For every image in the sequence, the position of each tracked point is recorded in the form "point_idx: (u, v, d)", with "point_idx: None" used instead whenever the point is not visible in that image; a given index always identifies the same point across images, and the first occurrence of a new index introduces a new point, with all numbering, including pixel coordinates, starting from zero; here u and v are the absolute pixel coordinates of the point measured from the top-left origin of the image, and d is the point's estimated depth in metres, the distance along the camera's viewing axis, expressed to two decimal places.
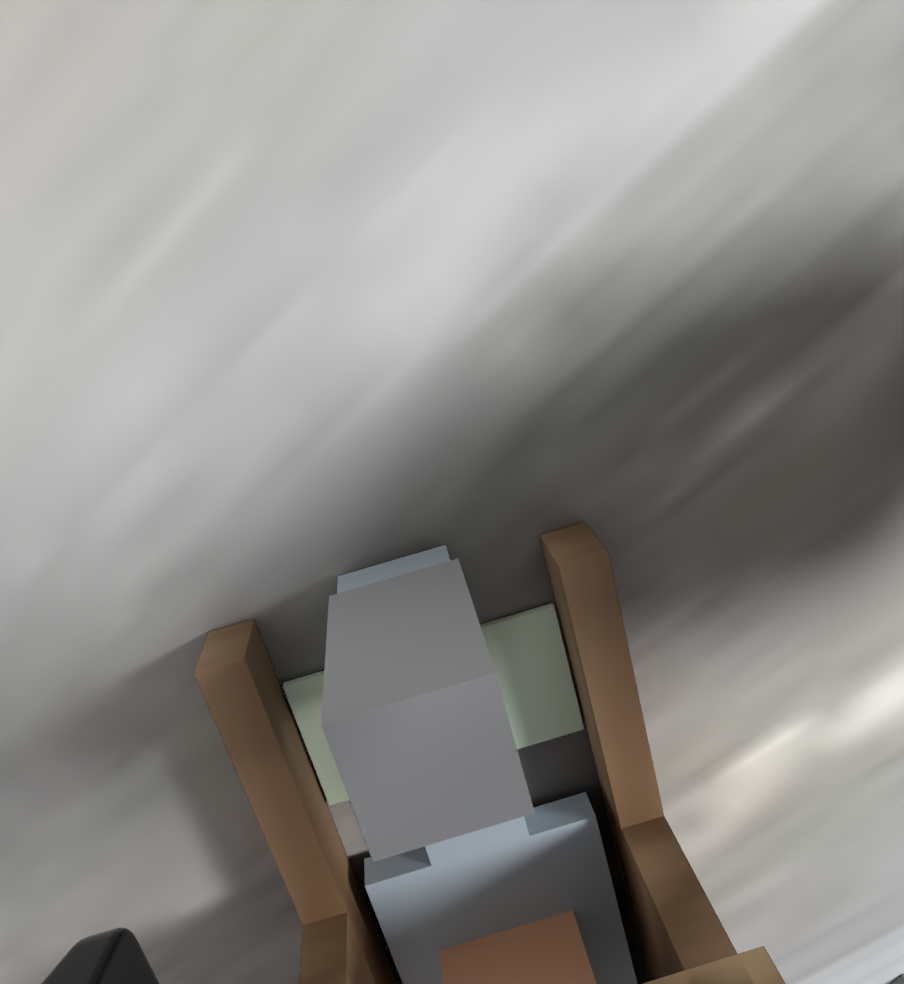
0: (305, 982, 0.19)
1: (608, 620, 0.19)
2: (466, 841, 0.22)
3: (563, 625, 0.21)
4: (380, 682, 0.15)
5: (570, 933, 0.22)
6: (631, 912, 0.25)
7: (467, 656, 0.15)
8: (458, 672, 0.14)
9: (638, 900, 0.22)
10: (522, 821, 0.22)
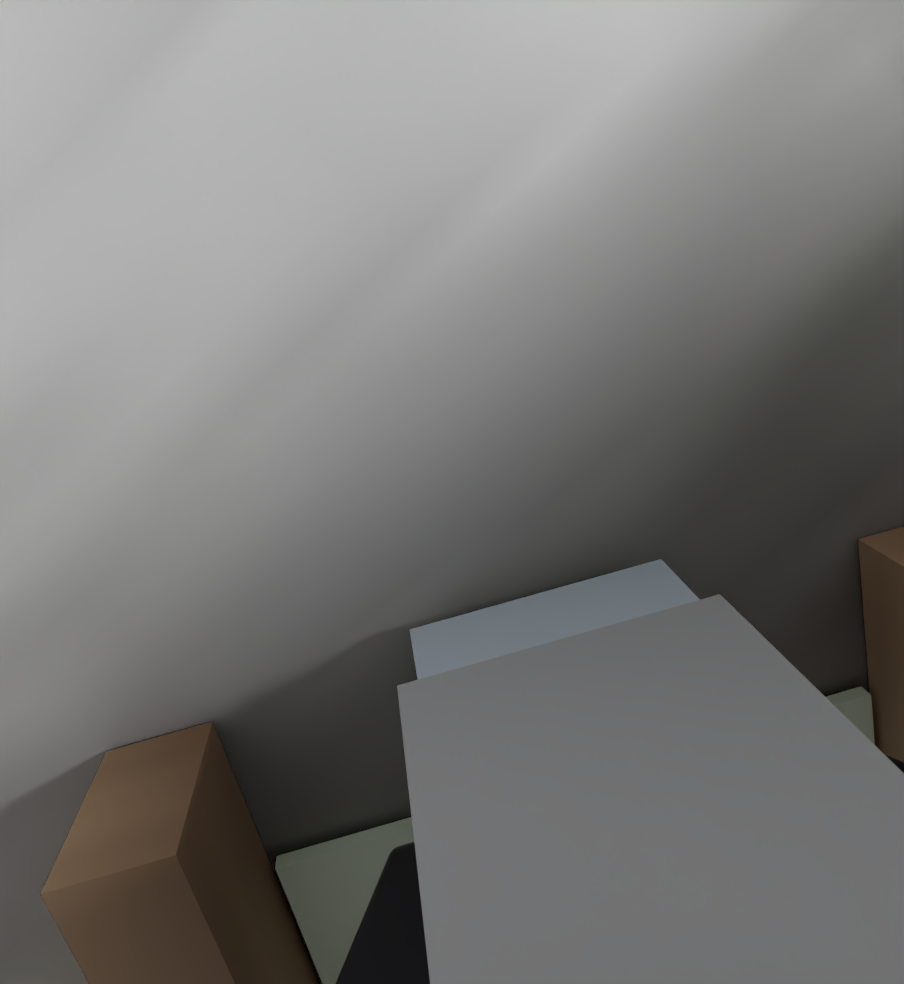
0: None
1: None
2: None
3: (888, 736, 0.10)
4: None
5: None
6: None
7: None
8: None
9: None
10: None
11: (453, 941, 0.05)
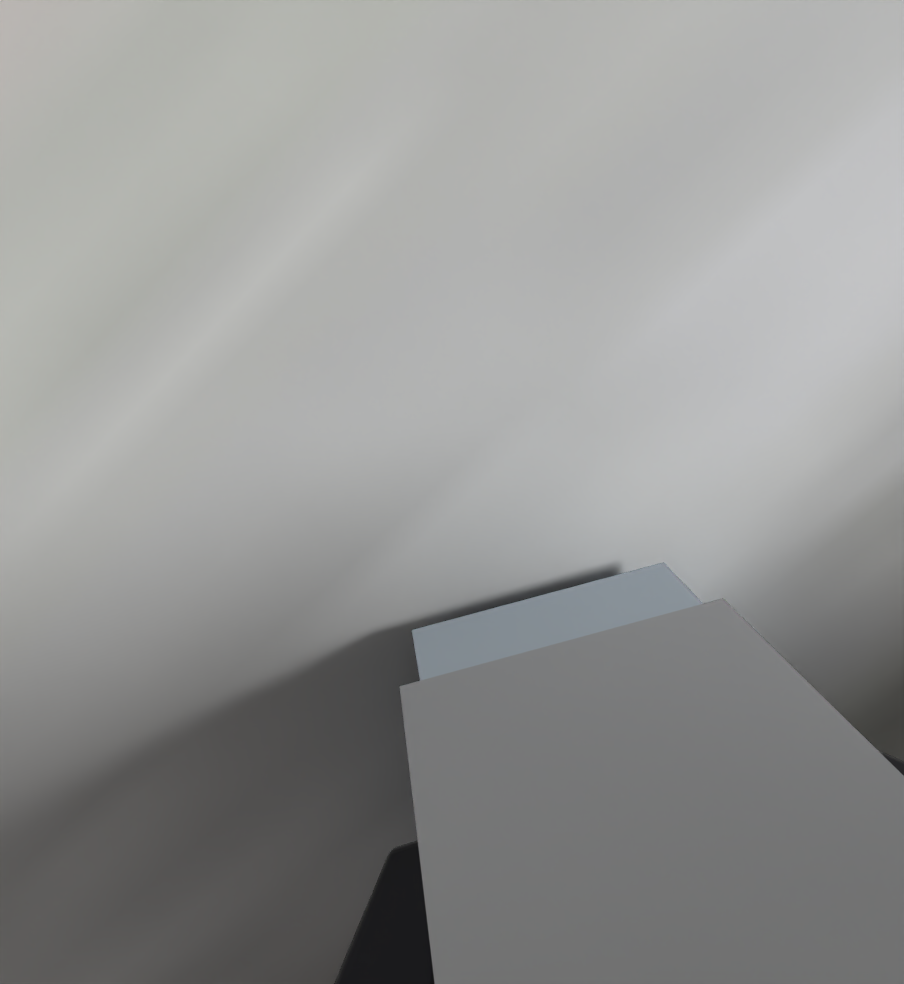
0: None
1: None
2: None
3: None
4: None
5: None
6: None
7: None
8: None
9: None
10: None
11: (458, 944, 0.05)
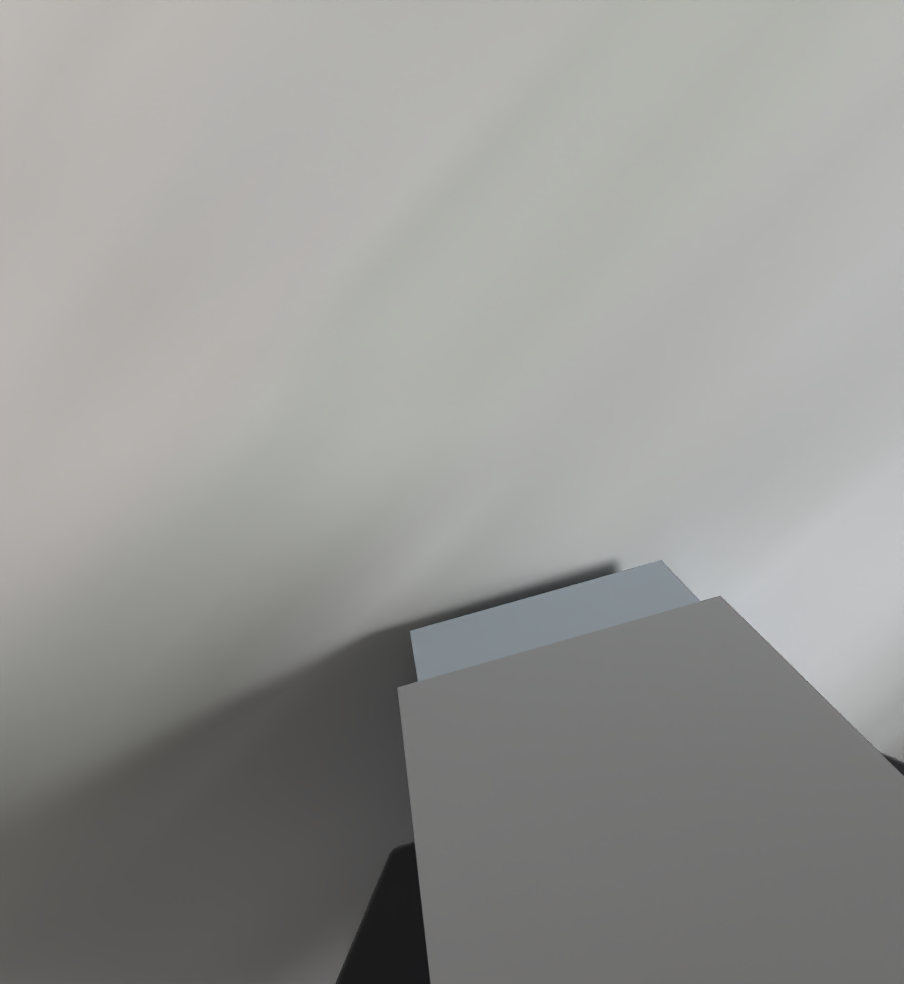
0: None
1: None
2: None
3: None
4: None
5: None
6: None
7: None
8: None
9: None
10: None
11: (454, 945, 0.05)
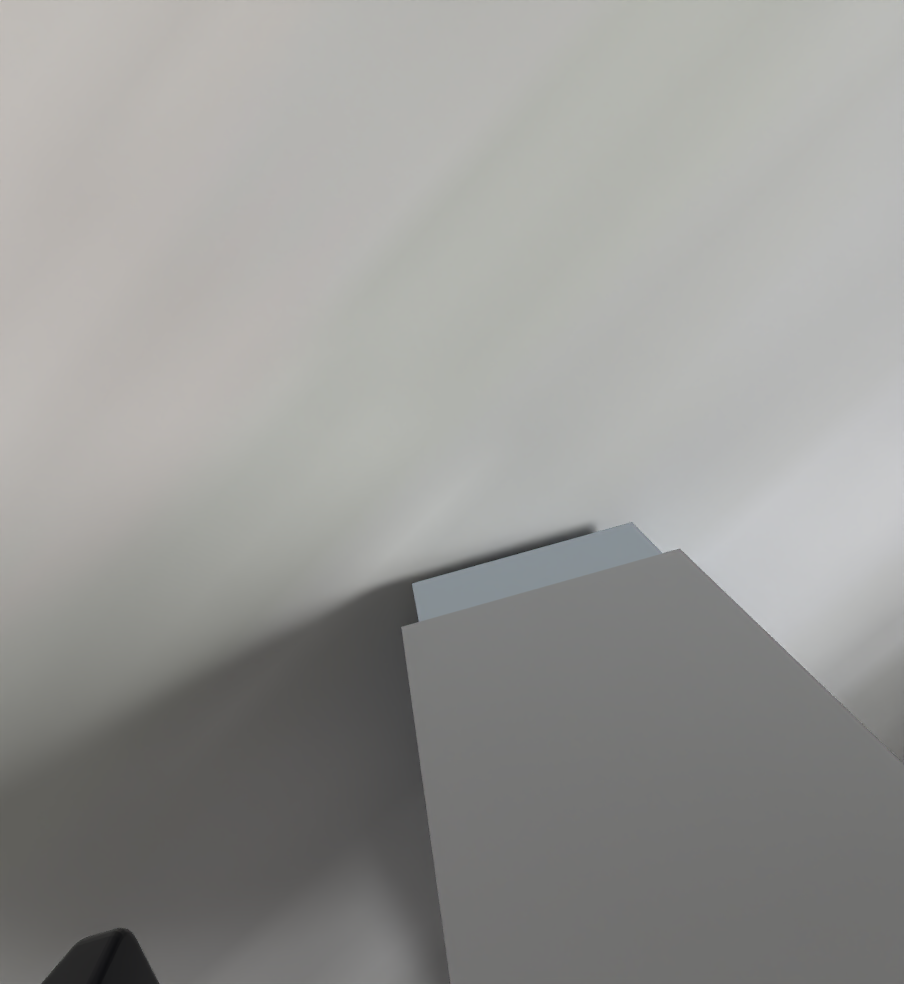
0: None
1: None
2: None
3: None
4: (639, 937, 0.05)
5: None
6: None
7: None
8: None
9: None
10: None
11: (448, 803, 0.06)
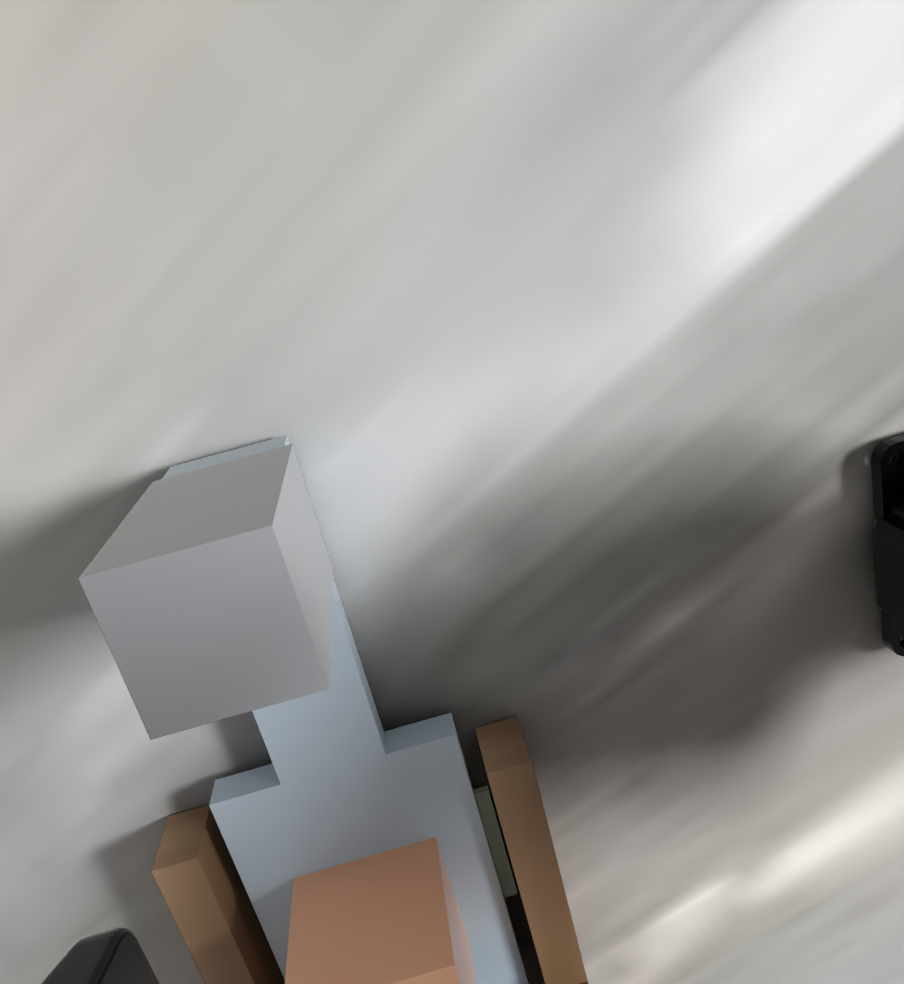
0: None
1: (533, 818, 0.21)
2: (317, 758, 0.20)
3: None
4: (157, 541, 0.14)
5: (429, 859, 0.21)
6: None
7: (253, 515, 0.14)
8: (236, 527, 0.13)
9: None
10: (377, 738, 0.20)
11: (125, 525, 0.15)
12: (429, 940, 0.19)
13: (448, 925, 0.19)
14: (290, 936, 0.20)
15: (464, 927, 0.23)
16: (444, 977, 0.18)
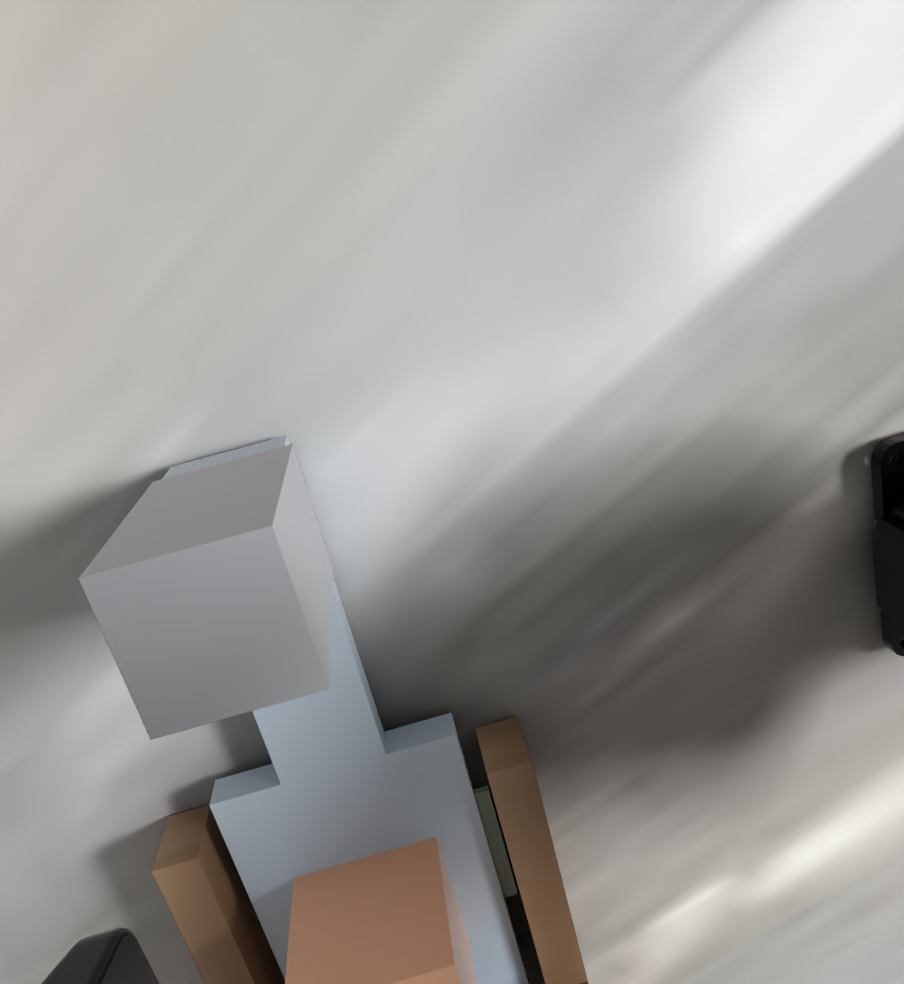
0: None
1: (533, 818, 0.21)
2: (317, 758, 0.20)
3: None
4: (157, 541, 0.14)
5: (429, 859, 0.21)
6: None
7: (253, 515, 0.14)
8: (236, 528, 0.13)
9: None
10: (377, 738, 0.20)
11: (125, 525, 0.15)
12: (429, 940, 0.19)
13: (448, 925, 0.19)
14: (290, 936, 0.20)
15: (464, 927, 0.23)
16: (444, 977, 0.18)
